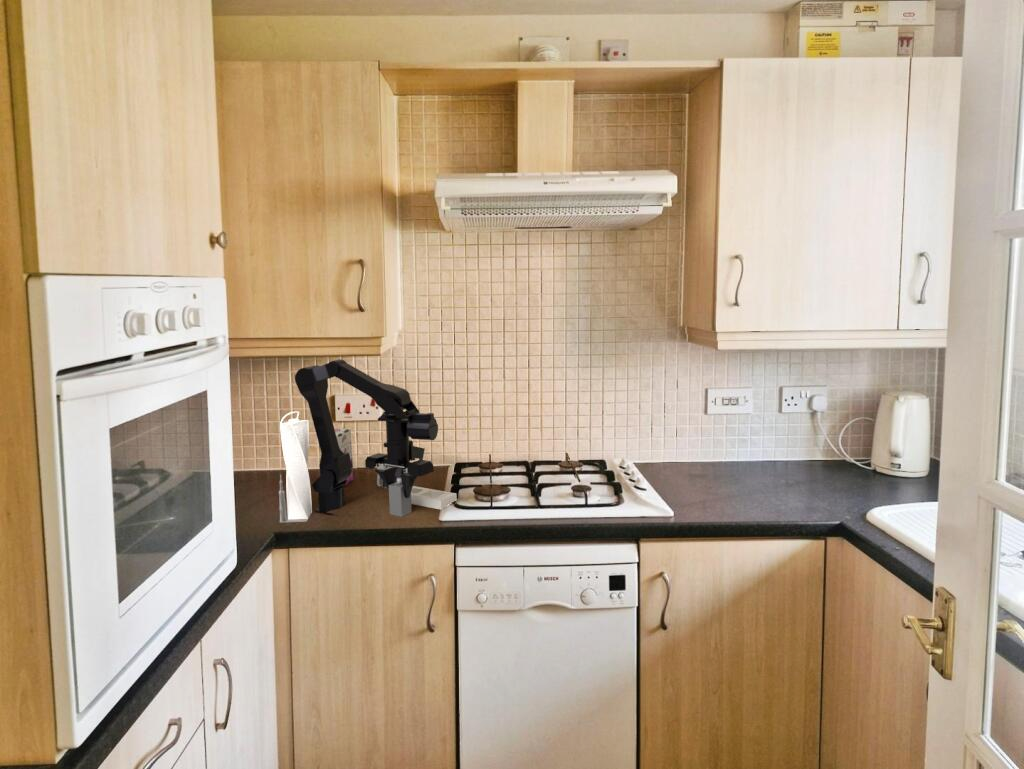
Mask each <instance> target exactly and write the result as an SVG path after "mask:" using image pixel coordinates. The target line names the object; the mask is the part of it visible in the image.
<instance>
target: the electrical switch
mask: <svg viewBox="0 0 1024 769" xmlns="http://www.w3.org/2000/svg"><path fill="white" fill-rule="evenodd" d="M404 473H406V469H402V468H397V470H396V472H395V483H396V482H397V478H401V475H402V474H404ZM376 475H377V476H376V485H377V486H378V487H381V488H382V489H384V490H387V487H386V485H385V484H384V482H383V480H382V479H381V477H380V476H379V474H378V473H377V474H376Z"/></svg>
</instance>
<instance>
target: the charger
mask: <svg viewBox="0 0 1024 769" xmlns="http://www.w3.org/2000/svg"><path fill="white" fill-rule="evenodd" d="M388 501H389V503H388V504H389V514H390V515H392V516H395V517H396V516H397V517H401V518H402V517H404V516H407V515H409V514H410V513H412V504H411V493H410V496H409V498H405V495H404V490H403V485H402V480H401V478H397V482H396V483H393V484H391V485H389V491H388Z"/></svg>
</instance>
